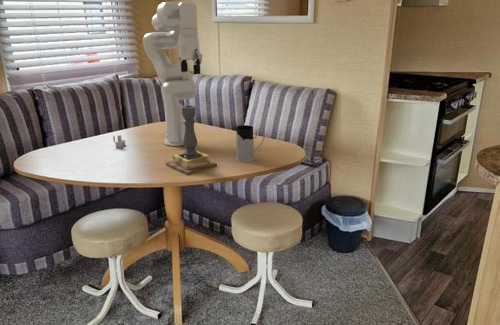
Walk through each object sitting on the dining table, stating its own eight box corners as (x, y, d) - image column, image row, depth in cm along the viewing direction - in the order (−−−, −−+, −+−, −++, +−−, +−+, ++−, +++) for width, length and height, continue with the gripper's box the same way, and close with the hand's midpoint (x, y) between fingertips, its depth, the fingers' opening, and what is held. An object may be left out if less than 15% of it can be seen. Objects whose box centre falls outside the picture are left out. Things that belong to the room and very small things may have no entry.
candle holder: (184, 160, 186) (181, 105, 177) (198, 160, 186) (196, 105, 178) (183, 165, 180) (180, 108, 172) (198, 165, 180) (195, 108, 172)
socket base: (166, 165, 184) (165, 155, 182) (196, 157, 194) (195, 147, 192) (186, 174, 173) (186, 164, 171) (217, 166, 183) (216, 155, 181)
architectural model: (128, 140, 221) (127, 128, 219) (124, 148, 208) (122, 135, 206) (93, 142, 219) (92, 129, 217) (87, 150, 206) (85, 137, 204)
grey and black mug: (233, 157, 194) (232, 125, 189) (261, 153, 199) (261, 123, 194) (239, 162, 186) (238, 130, 181) (268, 159, 191) (268, 127, 186)
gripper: (170, 32, 183) (172, 71, 189) (193, 33, 171) (194, 75, 177) (184, 31, 188) (186, 70, 193) (207, 33, 176) (209, 74, 181)
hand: (190, 72), depth 185 cm, fingers open, 9 cm apart
